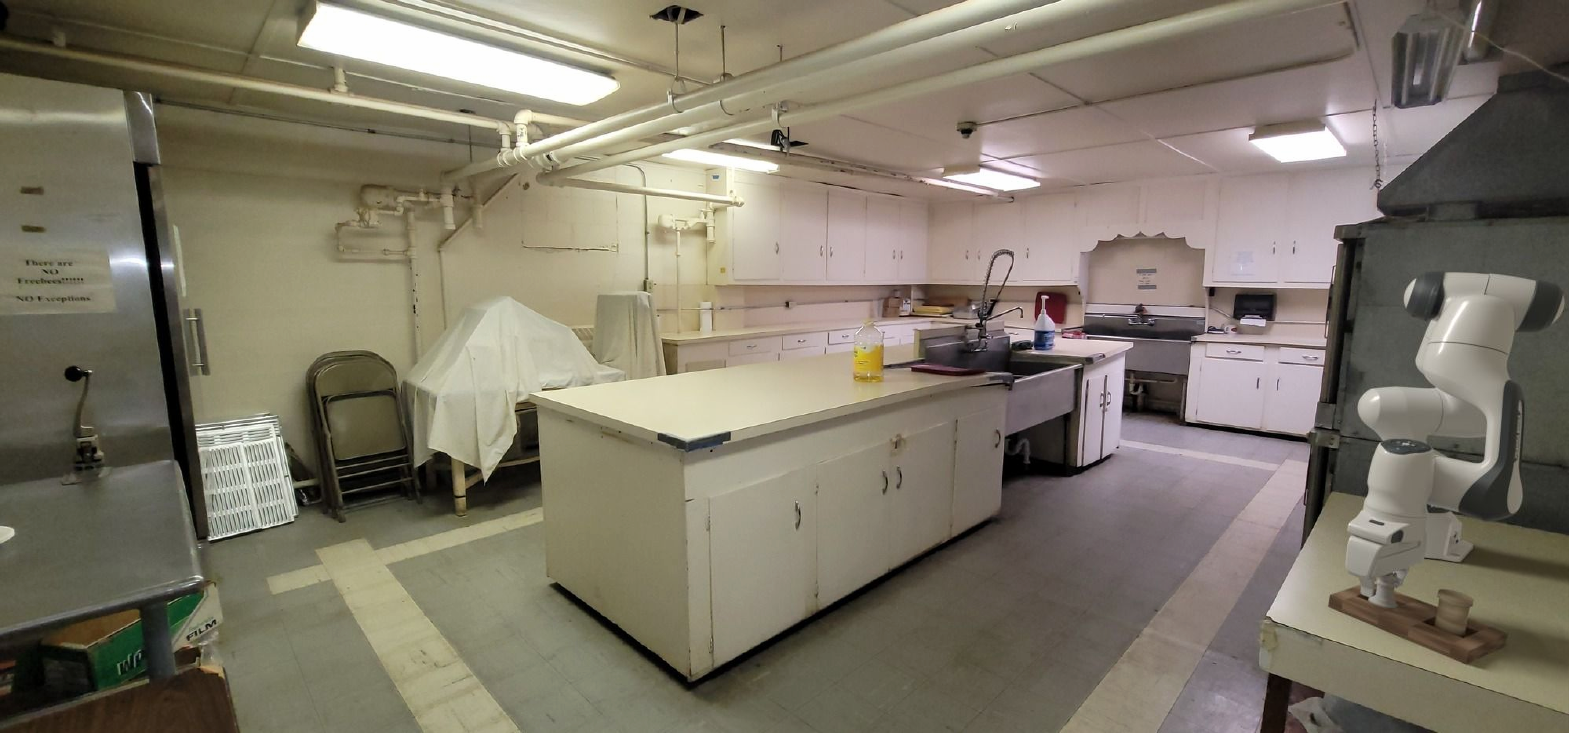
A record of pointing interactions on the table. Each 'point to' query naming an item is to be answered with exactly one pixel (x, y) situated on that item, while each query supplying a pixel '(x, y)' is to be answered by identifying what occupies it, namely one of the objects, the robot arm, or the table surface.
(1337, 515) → the table surface
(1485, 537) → the table surface
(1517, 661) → the table surface
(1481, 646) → the pallet board
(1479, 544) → the table surface
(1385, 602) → the rook chess piece
